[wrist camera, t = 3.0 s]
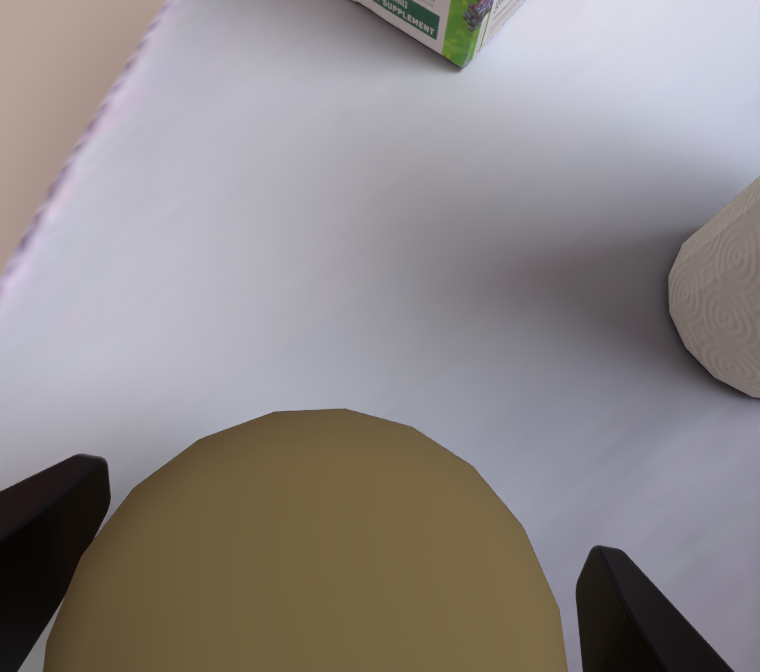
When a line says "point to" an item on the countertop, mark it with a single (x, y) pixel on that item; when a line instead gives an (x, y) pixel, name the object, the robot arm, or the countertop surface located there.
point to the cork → (310, 561)
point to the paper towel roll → (722, 293)
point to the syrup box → (447, 22)
